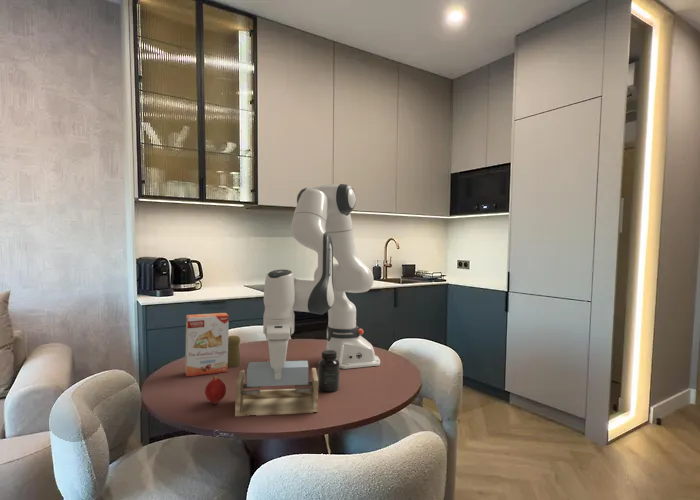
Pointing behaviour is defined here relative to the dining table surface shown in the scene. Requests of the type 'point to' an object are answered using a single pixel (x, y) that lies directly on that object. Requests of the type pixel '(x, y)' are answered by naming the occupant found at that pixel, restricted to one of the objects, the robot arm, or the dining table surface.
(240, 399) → the tray
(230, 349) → the olive double rounded piece
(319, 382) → the supplement bottle
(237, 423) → the dining table surface
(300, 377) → the light grey rectangular block
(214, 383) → the red round piece
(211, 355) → the cracker box
